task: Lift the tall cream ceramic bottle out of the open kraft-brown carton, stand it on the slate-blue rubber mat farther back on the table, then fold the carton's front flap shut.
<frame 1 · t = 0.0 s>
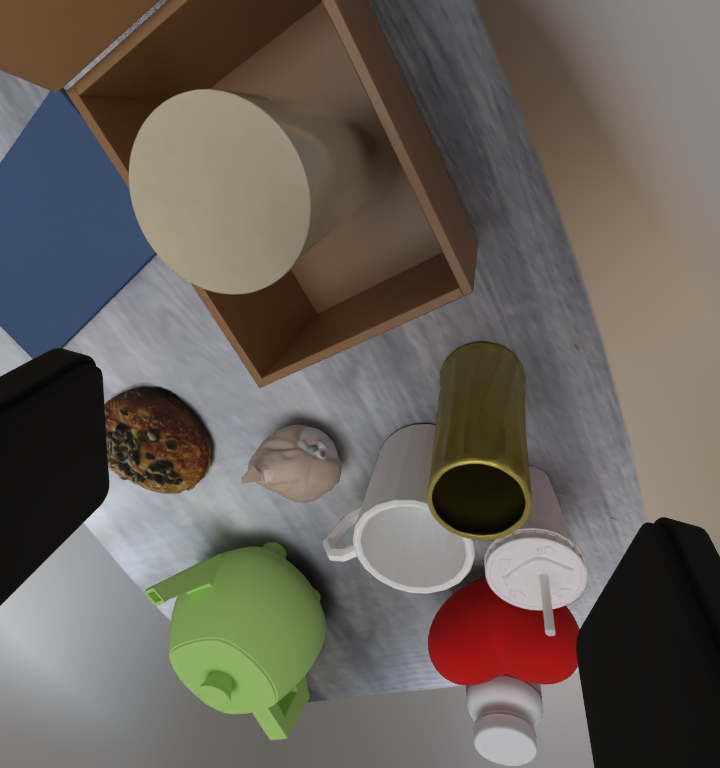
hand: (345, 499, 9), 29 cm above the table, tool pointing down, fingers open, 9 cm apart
cream bottle: (350, 158, 34), resting on carton
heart: (500, 572, 47), on the table
garlic bulb: (310, 442, 46), on the table
teapot: (268, 578, 54), on the table
pill bottle: (501, 622, 50), on the table
smoothie: (526, 483, 43), on the table
mug: (406, 470, 45), on the table
mat: (52, 243, 42), on the table
carton: (332, 169, 35), on the table
bread roll: (160, 436, 49), on the table
vase: (481, 378, 39), on the table
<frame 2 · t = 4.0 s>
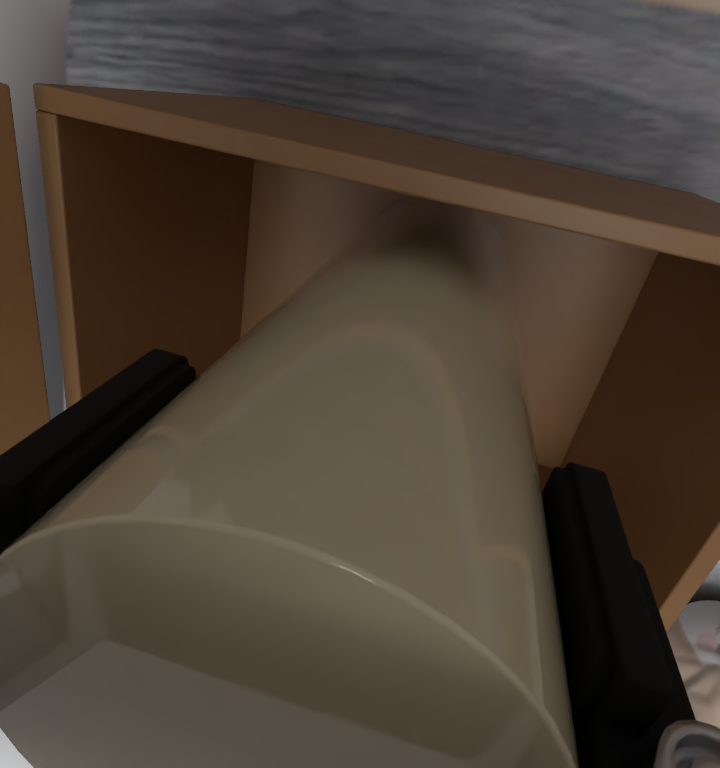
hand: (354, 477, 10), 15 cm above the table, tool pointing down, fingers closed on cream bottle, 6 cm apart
cream bottle: (430, 274, 22), point 1 cm above the table, touching carton, gripper
garlic bulb: (696, 618, 28), on the table
carton: (423, 304, 23), on the table
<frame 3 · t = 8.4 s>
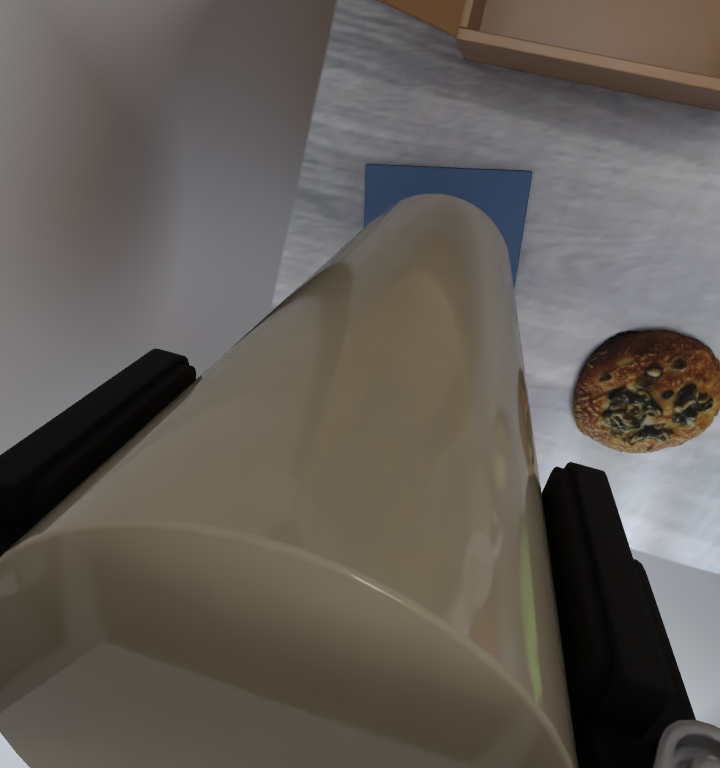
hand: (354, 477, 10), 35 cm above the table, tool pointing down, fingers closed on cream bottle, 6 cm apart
cream bottle: (430, 275, 22), point 20 cm above the table, touching gripper
mat: (435, 298, 43), on the table
bread roll: (642, 388, 43), on the table
when the fingers open (15 cm above the table, at t = 13.2 s): cream bottle stays where it is, resting on mat.
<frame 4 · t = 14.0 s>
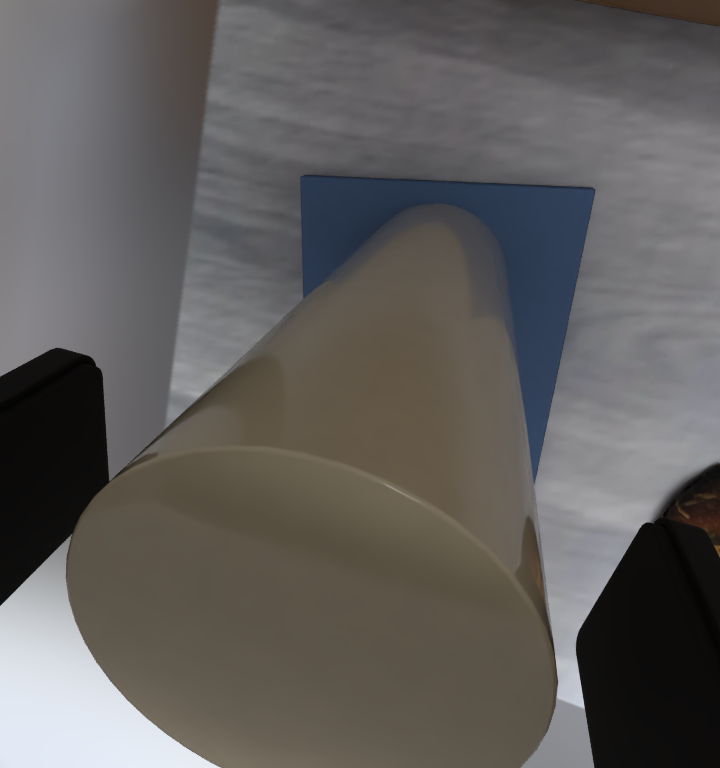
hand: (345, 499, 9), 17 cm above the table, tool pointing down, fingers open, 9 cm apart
cream bottle: (432, 279, 23), point 1 cm above the table, touching mat
mat: (423, 393, 27), on the table
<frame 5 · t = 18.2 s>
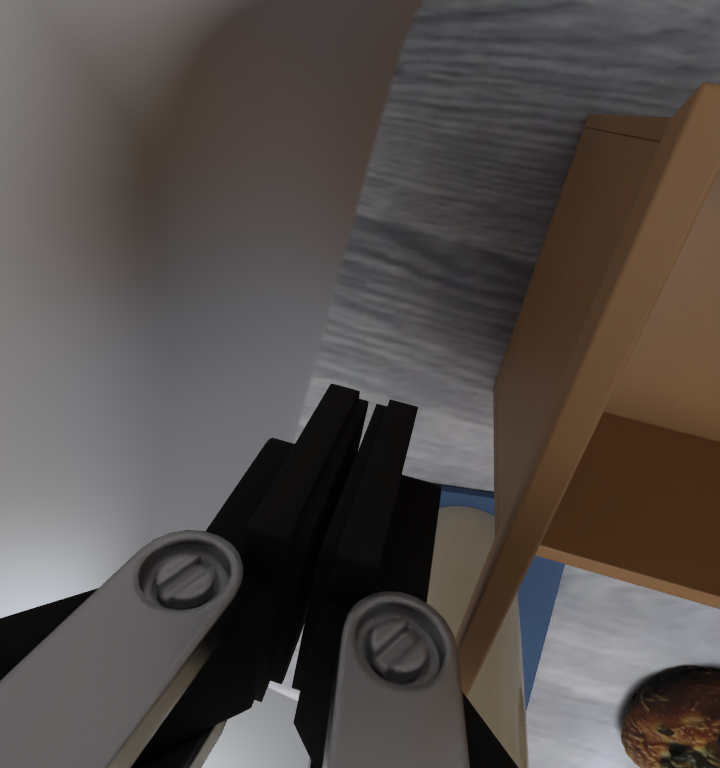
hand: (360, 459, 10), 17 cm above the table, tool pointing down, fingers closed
cream bottle: (461, 547, 32), point 1 cm above the table, touching mat
flap: (539, 466, 11), point 16 cm above the table, hinge at 104.3°, touching gripper
mat: (453, 606, 36), on the table
bread roll: (706, 717, 35), on the table
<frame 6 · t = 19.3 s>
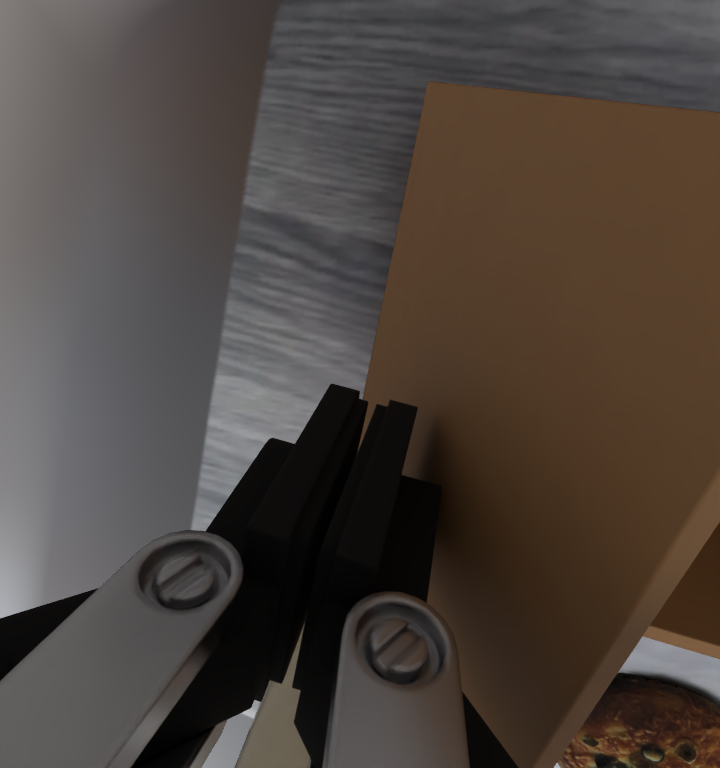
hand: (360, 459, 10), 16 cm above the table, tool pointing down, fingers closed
cream bottle: (377, 550, 31), point 1 cm above the table, touching mat
flap: (435, 493, 10), point 16 cm above the table, hinge at 62.7°
carton: (617, 305, 23), on the table
bread roll: (638, 726, 34), on the table
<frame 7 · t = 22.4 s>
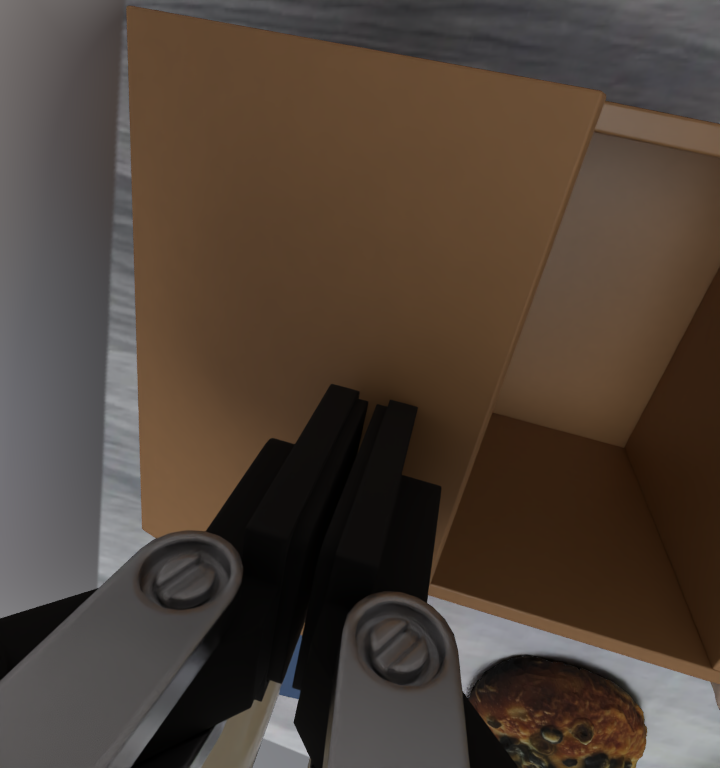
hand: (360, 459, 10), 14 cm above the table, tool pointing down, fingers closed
cream bottle: (279, 530, 31), point 1 cm above the table, touching mat
flap: (282, 397, 11), point 13 cm above the table, hinge at 17.0°, touching gripper
mat: (287, 594, 34), on the table
carton: (489, 276, 22), on the table
bread roll: (549, 708, 34), on the table
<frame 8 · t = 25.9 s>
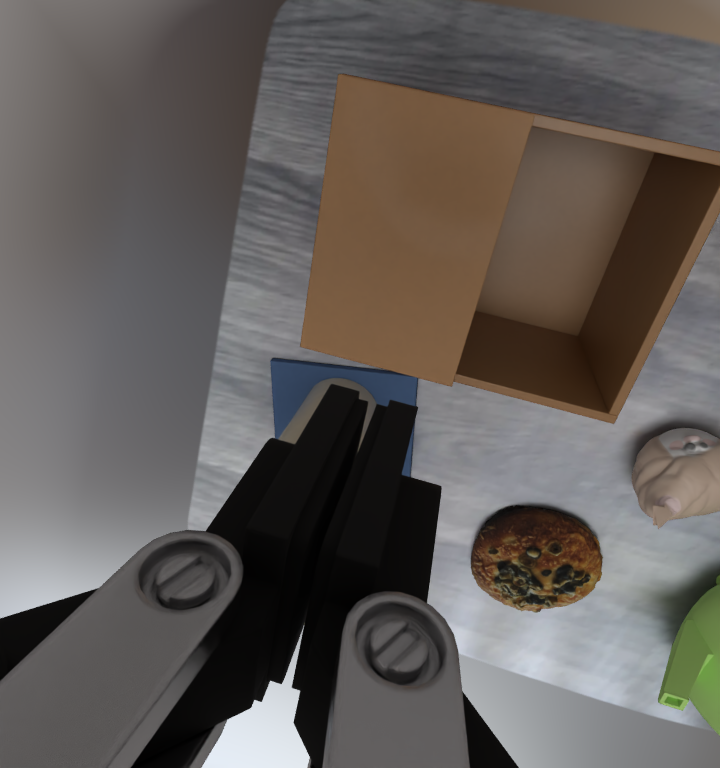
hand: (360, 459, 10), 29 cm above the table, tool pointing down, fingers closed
cream bottle: (341, 412, 44), point 1 cm above the table, touching mat
garlic bulb: (672, 449, 40), on the table
flap: (401, 246, 25), point 12 cm above the table, hinge at -0.3°
mat: (343, 467, 47), on the table
carton: (490, 221, 35), on the table
bread roll: (534, 551, 47), on the table
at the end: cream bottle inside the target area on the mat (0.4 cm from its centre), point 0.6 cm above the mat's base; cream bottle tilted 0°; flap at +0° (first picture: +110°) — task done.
